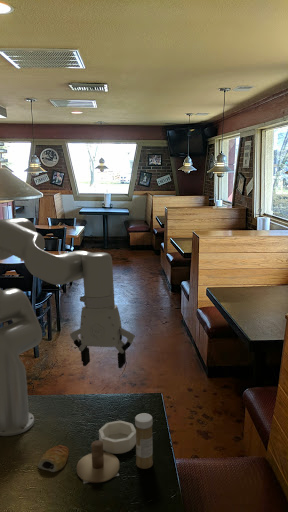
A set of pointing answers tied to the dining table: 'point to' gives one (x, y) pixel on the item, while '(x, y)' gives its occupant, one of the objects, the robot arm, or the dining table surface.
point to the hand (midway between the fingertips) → (103, 365)
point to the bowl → (117, 437)
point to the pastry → (54, 458)
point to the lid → (97, 465)
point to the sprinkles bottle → (144, 440)
